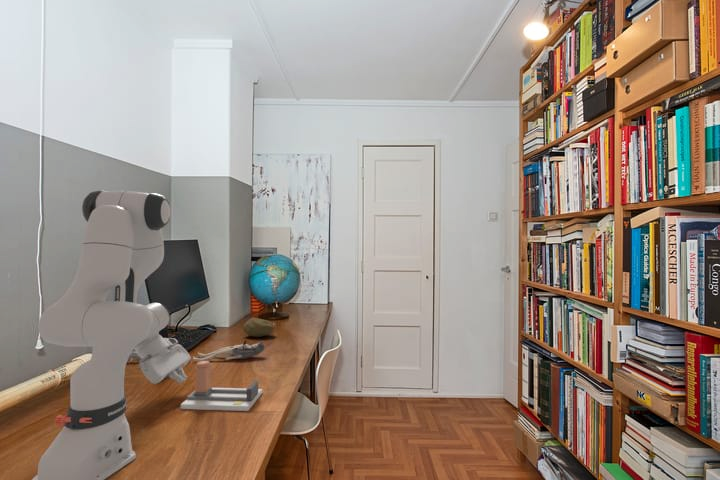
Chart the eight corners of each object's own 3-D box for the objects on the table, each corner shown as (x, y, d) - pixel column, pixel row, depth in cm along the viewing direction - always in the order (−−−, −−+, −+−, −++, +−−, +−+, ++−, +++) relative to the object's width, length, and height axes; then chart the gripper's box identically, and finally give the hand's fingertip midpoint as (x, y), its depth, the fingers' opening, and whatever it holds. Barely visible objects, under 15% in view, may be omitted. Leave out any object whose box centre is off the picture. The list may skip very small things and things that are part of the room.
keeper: (205, 398, 129) (205, 365, 129) (194, 397, 129) (194, 364, 129) (211, 392, 134) (211, 360, 133) (200, 392, 134) (200, 360, 134)
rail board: (248, 411, 123) (248, 393, 123) (180, 408, 125) (180, 391, 125) (262, 393, 137) (262, 377, 137) (201, 391, 139) (201, 376, 139)
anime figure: (198, 346, 179) (264, 336, 182) (200, 362, 179) (266, 351, 183) (191, 353, 170) (261, 341, 173) (193, 369, 170) (263, 358, 173)
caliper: (125, 363, 170) (125, 349, 170) (126, 362, 171) (126, 348, 171) (173, 362, 171) (173, 348, 171) (174, 361, 172) (174, 347, 172)
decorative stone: (277, 334, 218) (277, 316, 218) (270, 340, 207) (270, 321, 207) (248, 333, 220) (248, 316, 220) (239, 339, 209) (239, 320, 209)
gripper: (143, 354, 122) (173, 386, 122) (177, 337, 142) (204, 364, 142) (129, 368, 122) (159, 400, 122) (166, 348, 143) (192, 376, 142)
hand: (183, 380), depth 132 cm, fingers closed
